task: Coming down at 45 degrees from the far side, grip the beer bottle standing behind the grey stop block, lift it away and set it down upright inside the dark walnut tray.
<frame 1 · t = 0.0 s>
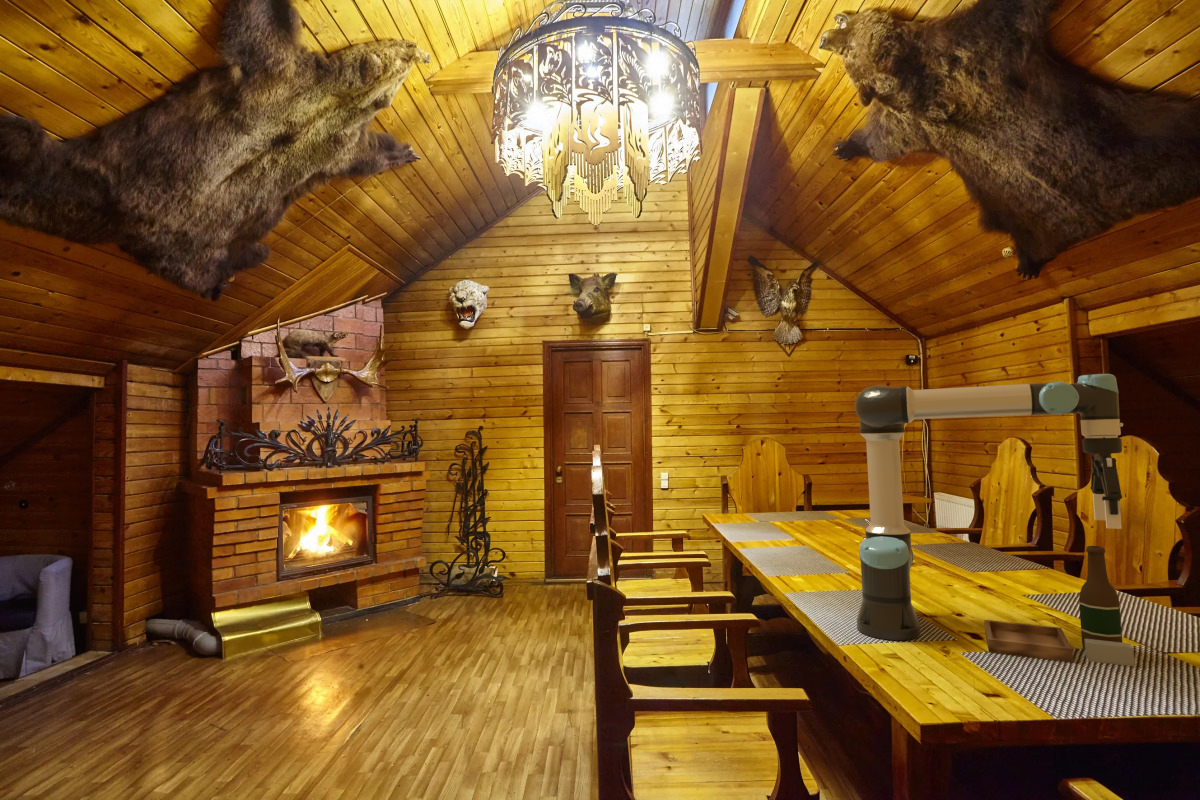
hand: (1107, 524, 151), 28 cm above the table, tool pointing down, fingers open, 13 cm apart
tray: (1026, 645, 148), on the table
beer bottle: (1102, 651, 144), on the table
stop block: (1109, 661, 138), on the table
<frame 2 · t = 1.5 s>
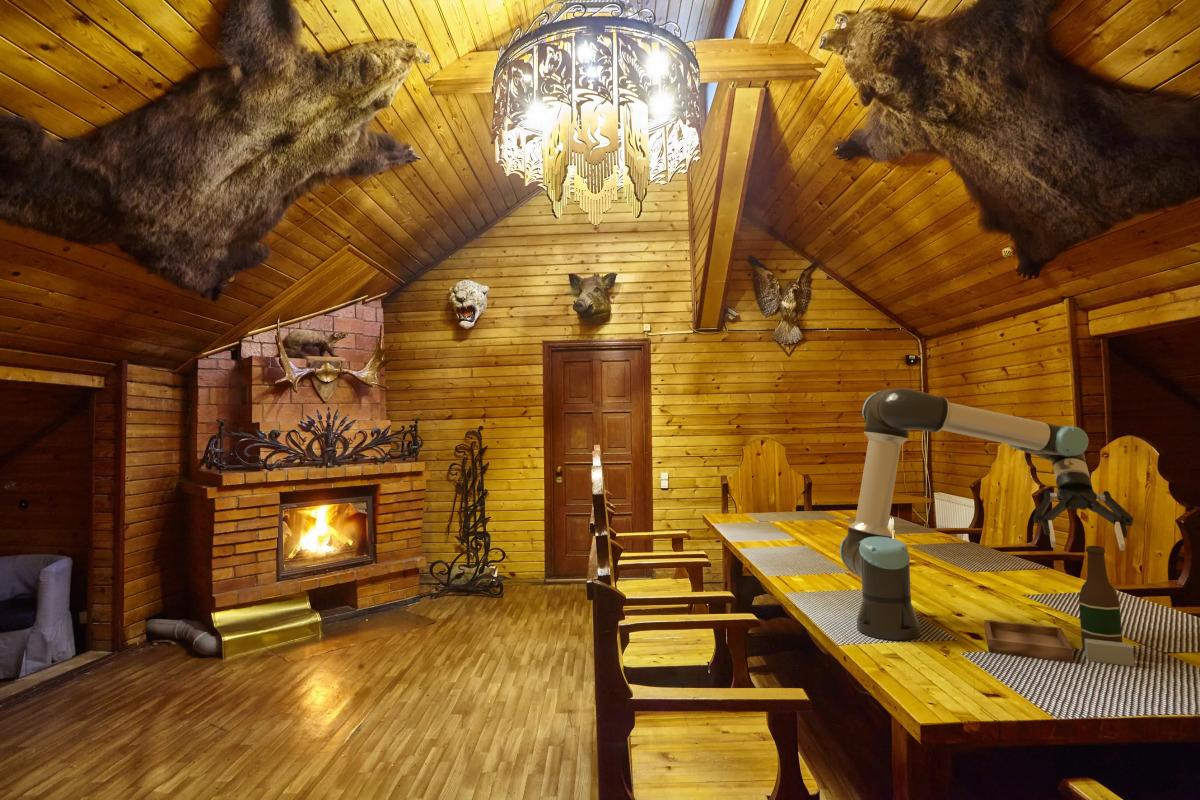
hand: (1087, 546, 153), 22 cm above the table, tool tilted 45°, fingers open, 13 cm apart
nothing on the table moved.
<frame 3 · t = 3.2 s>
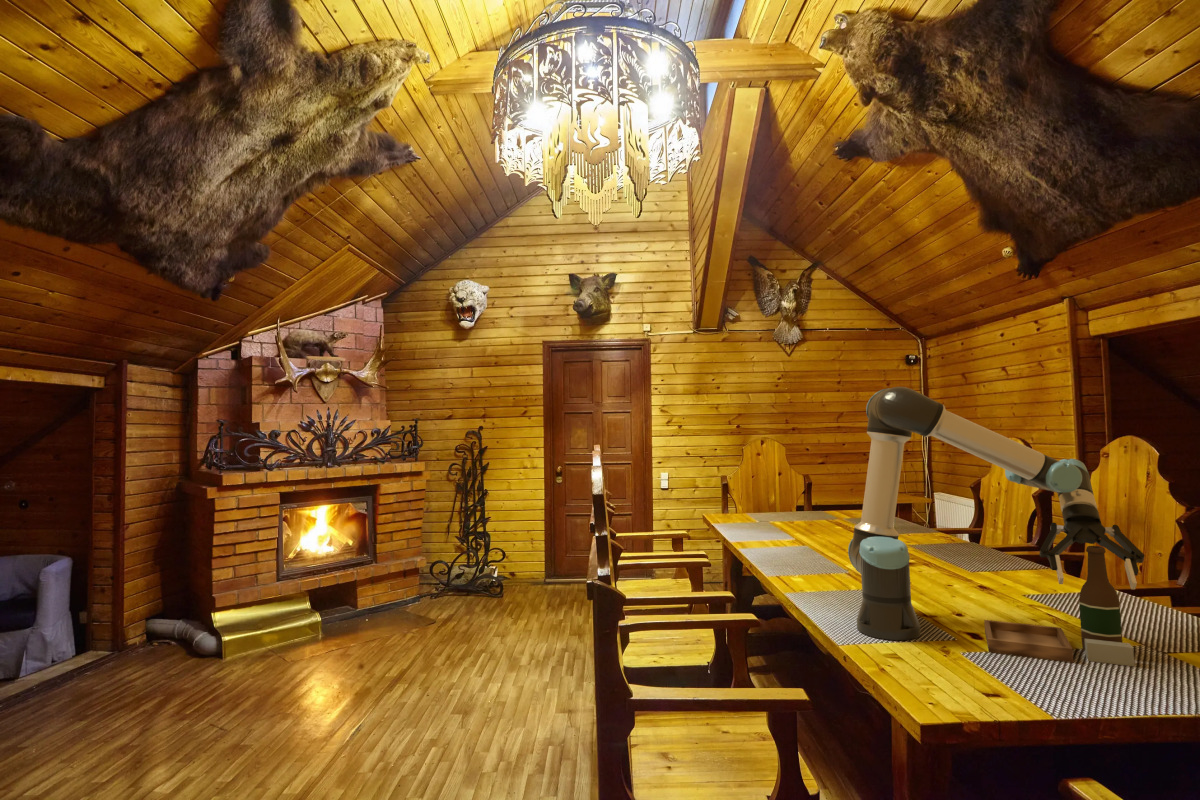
hand: (1096, 583, 146), 15 cm above the table, tool tilted 45°, fingers open, 13 cm apart
nothing on the table moved.
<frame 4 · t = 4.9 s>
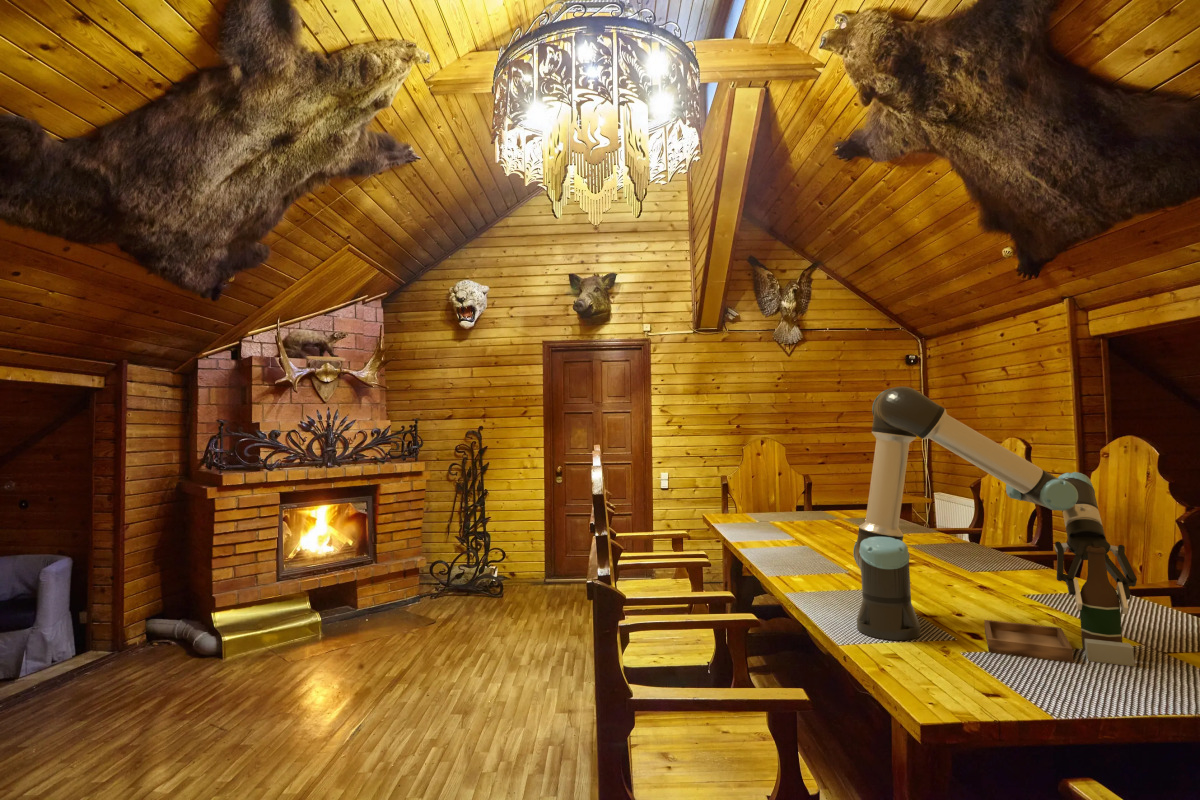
hand: (1102, 608, 141), 11 cm above the table, tool tilted 45°, fingers closed on beer bottle, 7 cm apart
beer bottle: (1102, 651, 144), on the table, touching gripper
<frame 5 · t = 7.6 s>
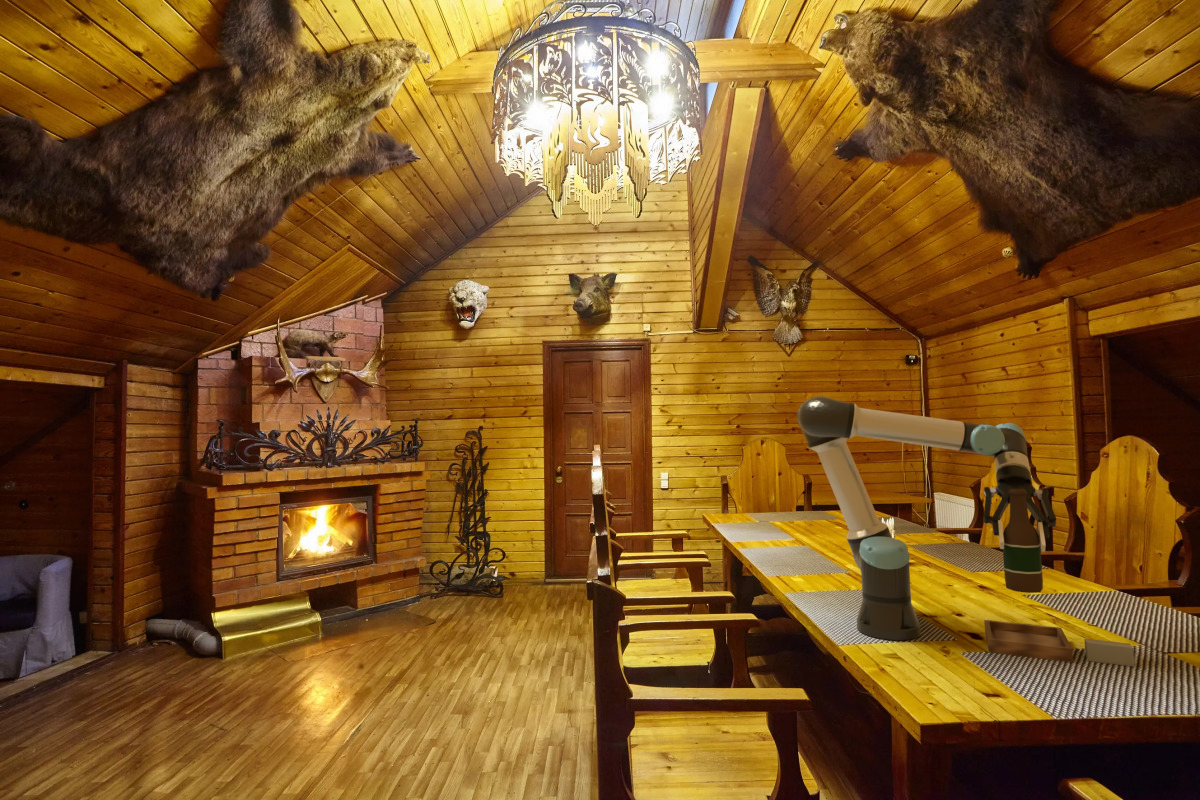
hand: (1022, 546, 146), 24 cm above the table, tool tilted 45°, fingers closed on beer bottle, 7 cm apart
beer bottle: (1024, 589, 149), point 13 cm above the table, touching gripper
when the fingers open (13 cm above the table, at t = 10.2 s): beer bottle drops 1 cm, resting on tray.
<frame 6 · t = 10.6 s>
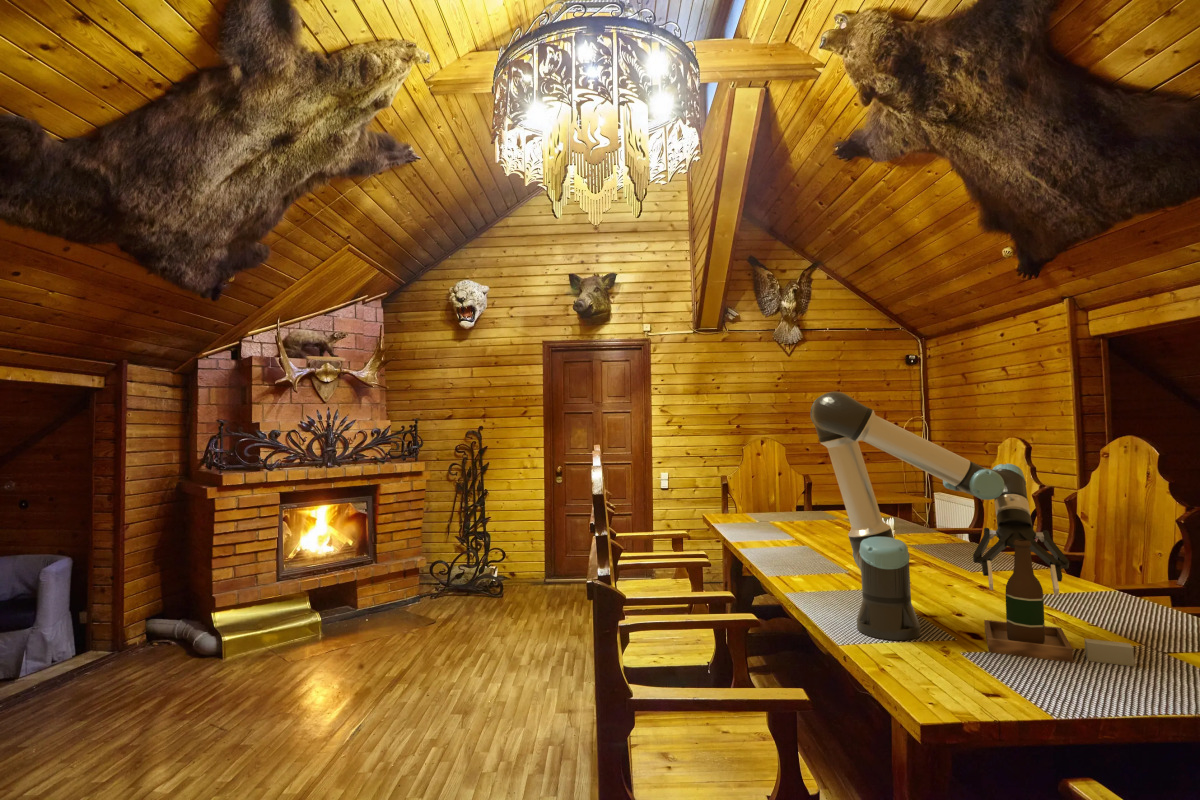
hand: (1023, 589, 147), 14 cm above the table, tool tilted 45°, fingers open, 12 cm apart
beer bottle: (1026, 642, 148), point 1 cm above the table, touching tray
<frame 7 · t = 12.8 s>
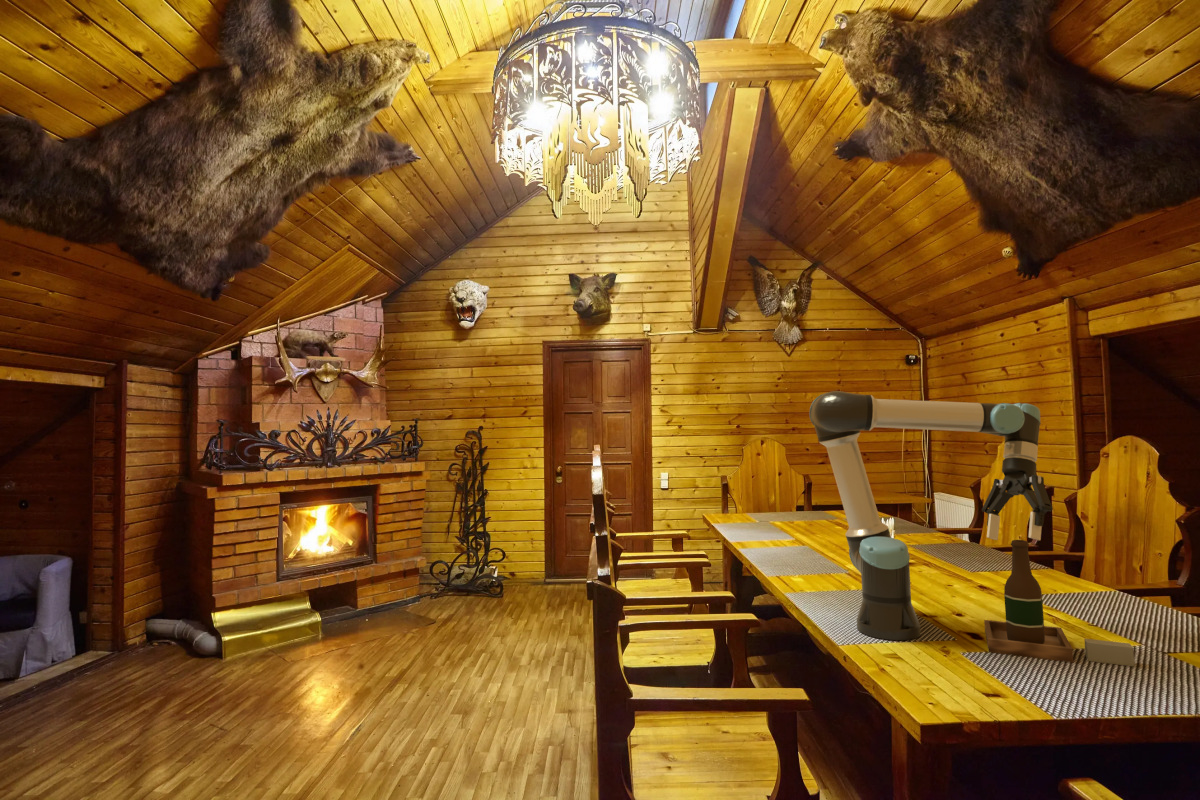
hand: (1012, 538, 161), 23 cm above the table, tool tilted 20°, fingers open, 13 cm apart
nothing on the table moved.
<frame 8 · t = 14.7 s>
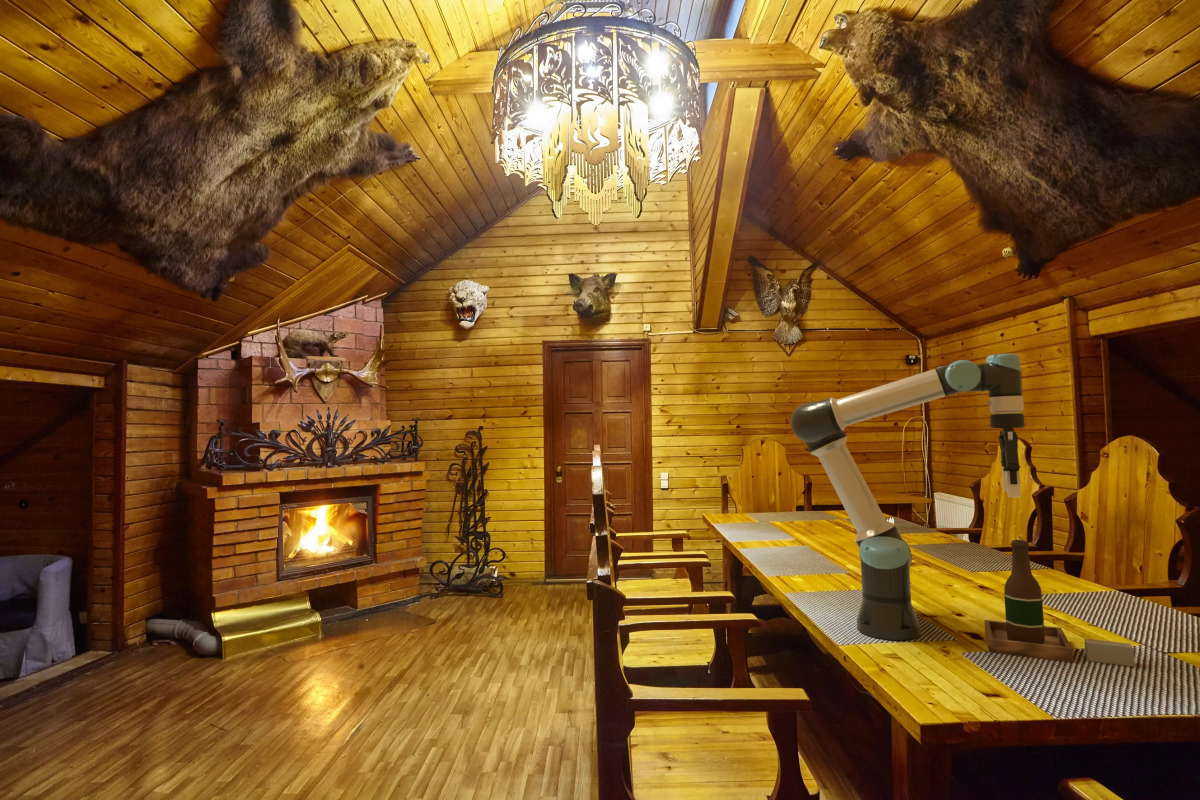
hand: (1011, 494, 161), 35 cm above the table, tool pointing down, fingers open, 13 cm apart
nothing on the table moved.
at the end: beer bottle inside the target area on the tray (0.1 cm from its centre), point 0.8 cm above the tray's base; beer bottle tilted 0°; the gripper is holding nothing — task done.
